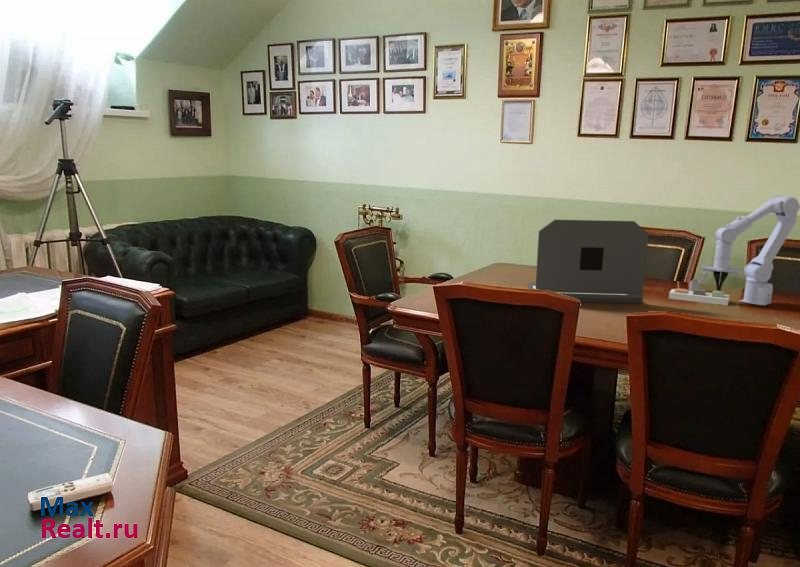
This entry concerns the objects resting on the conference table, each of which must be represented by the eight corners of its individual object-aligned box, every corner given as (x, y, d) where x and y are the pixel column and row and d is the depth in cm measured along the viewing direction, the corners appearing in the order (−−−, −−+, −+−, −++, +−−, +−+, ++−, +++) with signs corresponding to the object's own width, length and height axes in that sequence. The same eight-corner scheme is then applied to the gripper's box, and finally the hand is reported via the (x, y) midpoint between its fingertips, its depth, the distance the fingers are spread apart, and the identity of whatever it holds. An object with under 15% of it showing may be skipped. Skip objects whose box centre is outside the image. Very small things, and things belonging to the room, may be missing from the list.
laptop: (620, 288, 278) (627, 214, 271) (642, 305, 247) (650, 221, 240) (524, 286, 281) (528, 212, 274) (534, 302, 250) (539, 219, 243)
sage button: (723, 298, 253) (724, 291, 253) (723, 300, 250) (723, 293, 249) (712, 297, 255) (713, 290, 255) (711, 299, 252) (712, 292, 251)
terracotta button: (686, 296, 260) (687, 289, 260) (685, 298, 257) (686, 291, 256) (675, 295, 262) (676, 288, 262) (674, 296, 259) (675, 289, 258)
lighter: (691, 291, 273) (693, 273, 271) (688, 290, 274) (690, 272, 273) (705, 290, 274) (707, 273, 272) (702, 289, 276) (704, 272, 274)
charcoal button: (704, 296, 257) (705, 289, 256) (704, 298, 253) (704, 291, 253) (693, 295, 259) (694, 288, 258) (692, 297, 255) (693, 290, 255)
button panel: (728, 301, 255) (729, 295, 254) (727, 305, 247) (728, 299, 246) (671, 294, 265) (672, 288, 265) (668, 298, 258) (669, 292, 257)
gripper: (702, 256, 249) (698, 289, 252) (742, 260, 242) (738, 294, 245) (703, 254, 255) (699, 286, 258) (743, 258, 248) (739, 290, 251)
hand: (718, 290), depth 252 cm, fingers closed
